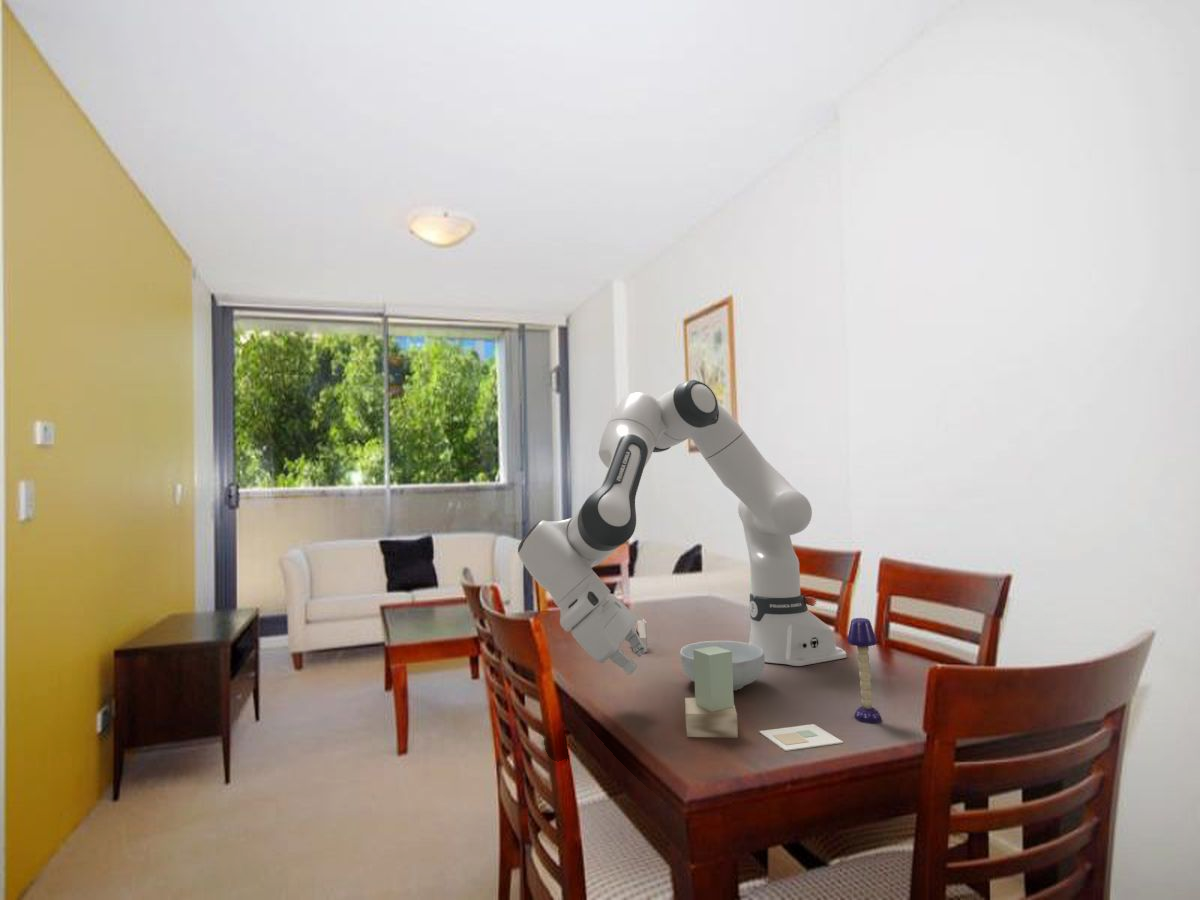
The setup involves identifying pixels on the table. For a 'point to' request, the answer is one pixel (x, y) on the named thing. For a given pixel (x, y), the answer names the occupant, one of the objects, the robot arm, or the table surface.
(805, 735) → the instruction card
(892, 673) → the table surface
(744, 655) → the cereal bowl
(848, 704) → the table surface
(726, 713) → the base brick
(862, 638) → the toy lamp
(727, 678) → the column brick
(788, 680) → the table surface
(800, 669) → the table surface
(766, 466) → the robot arm
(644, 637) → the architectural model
